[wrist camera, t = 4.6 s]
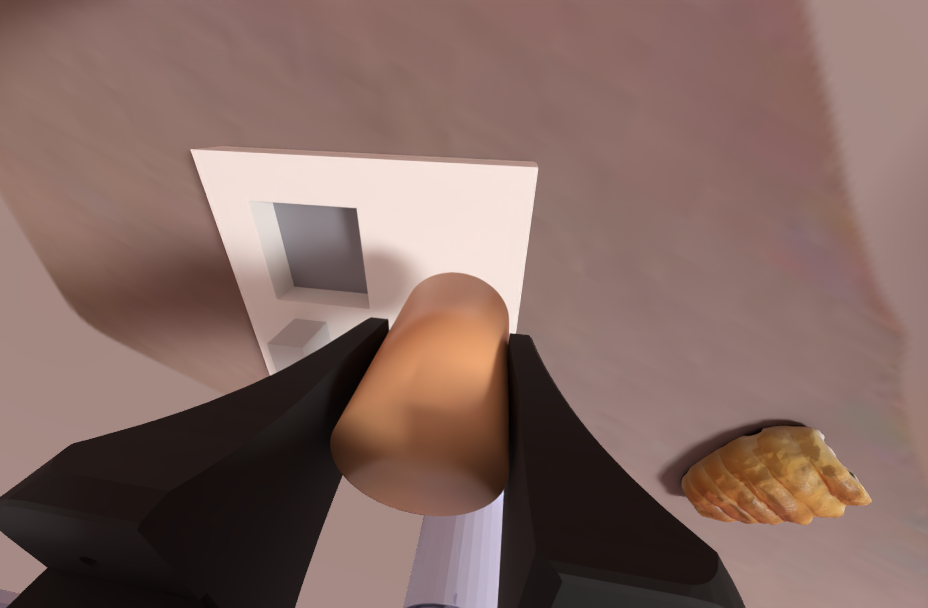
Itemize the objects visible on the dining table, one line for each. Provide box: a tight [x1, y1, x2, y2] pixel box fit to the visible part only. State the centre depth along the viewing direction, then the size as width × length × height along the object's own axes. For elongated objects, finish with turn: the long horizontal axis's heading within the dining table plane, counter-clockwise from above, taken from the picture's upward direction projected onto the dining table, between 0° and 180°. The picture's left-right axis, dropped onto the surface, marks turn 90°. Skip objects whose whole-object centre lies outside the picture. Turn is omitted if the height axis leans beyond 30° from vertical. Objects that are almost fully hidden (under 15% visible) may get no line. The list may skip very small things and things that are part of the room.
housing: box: [190, 146, 538, 376], centre depth 18 cm, size 15×16×4 cm
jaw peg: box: [330, 272, 509, 516], centre depth 10 cm, size 4×4×6 cm
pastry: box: [682, 426, 872, 525], centre depth 22 cm, size 9×7×4 cm
